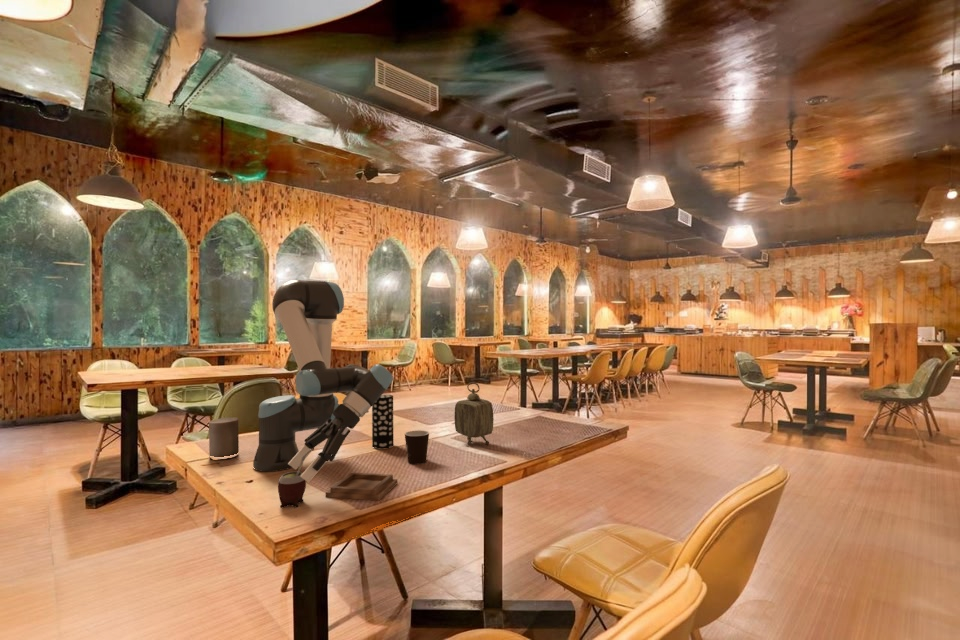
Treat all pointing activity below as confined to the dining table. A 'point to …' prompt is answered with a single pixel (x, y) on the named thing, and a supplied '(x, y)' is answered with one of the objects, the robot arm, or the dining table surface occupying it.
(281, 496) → the mate gourd
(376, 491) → the walnut stand
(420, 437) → the coffee mug
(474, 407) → the tabletop clock
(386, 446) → the spotted tube
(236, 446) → the pillar candle
